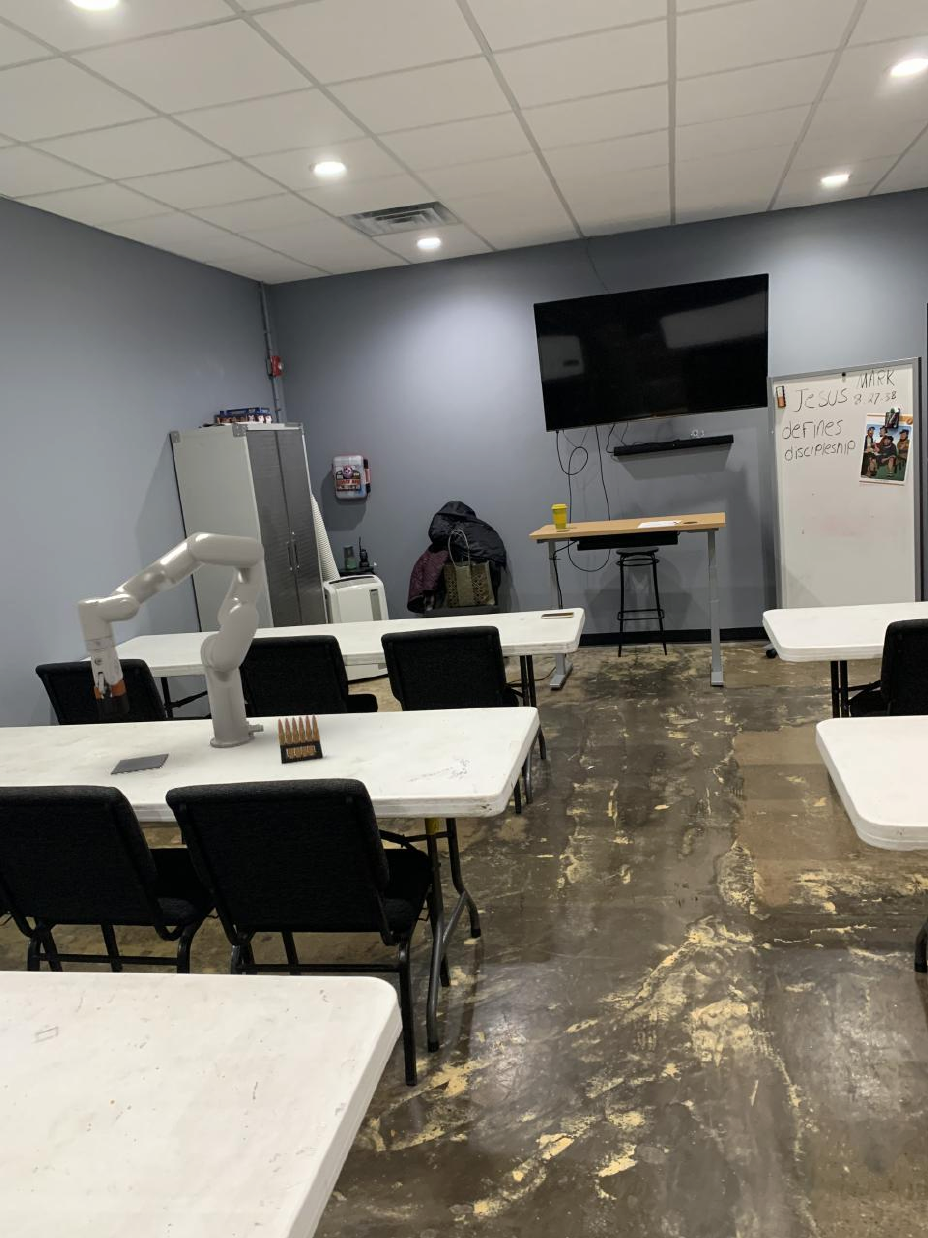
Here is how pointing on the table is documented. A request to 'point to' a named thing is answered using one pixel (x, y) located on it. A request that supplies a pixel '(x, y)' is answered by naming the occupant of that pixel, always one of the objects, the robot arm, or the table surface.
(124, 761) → the mat
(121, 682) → the battery
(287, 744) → the ammunition clip
